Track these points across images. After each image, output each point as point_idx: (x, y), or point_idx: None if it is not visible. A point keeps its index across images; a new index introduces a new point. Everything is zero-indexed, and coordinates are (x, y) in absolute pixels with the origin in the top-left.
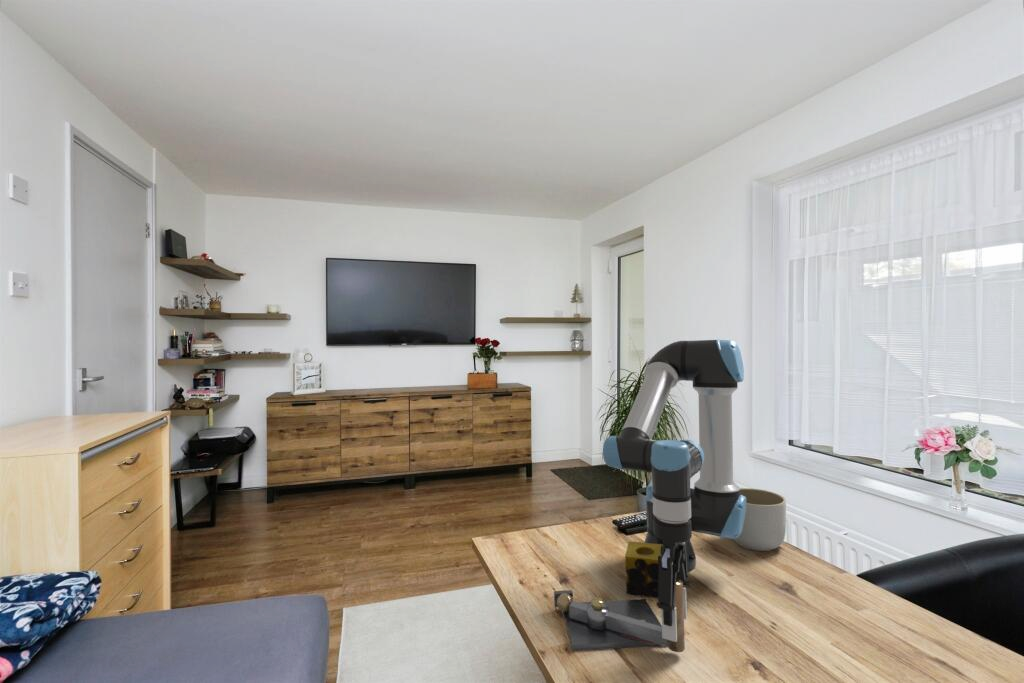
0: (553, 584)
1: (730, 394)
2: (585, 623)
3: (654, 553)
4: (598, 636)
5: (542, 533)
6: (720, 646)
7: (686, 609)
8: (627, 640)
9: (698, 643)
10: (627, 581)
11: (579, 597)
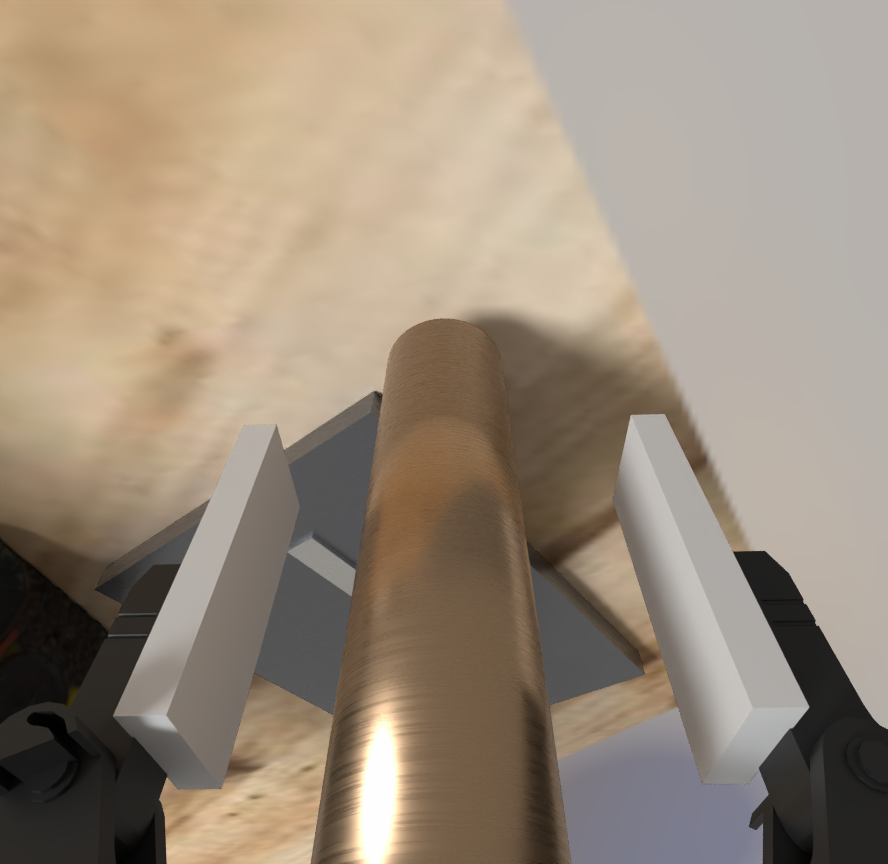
0: (284, 774)
1: None
2: None
3: None
4: (543, 636)
5: None
6: (129, 83)
7: (227, 481)
8: None
9: (228, 250)
10: (75, 695)
11: (294, 719)
